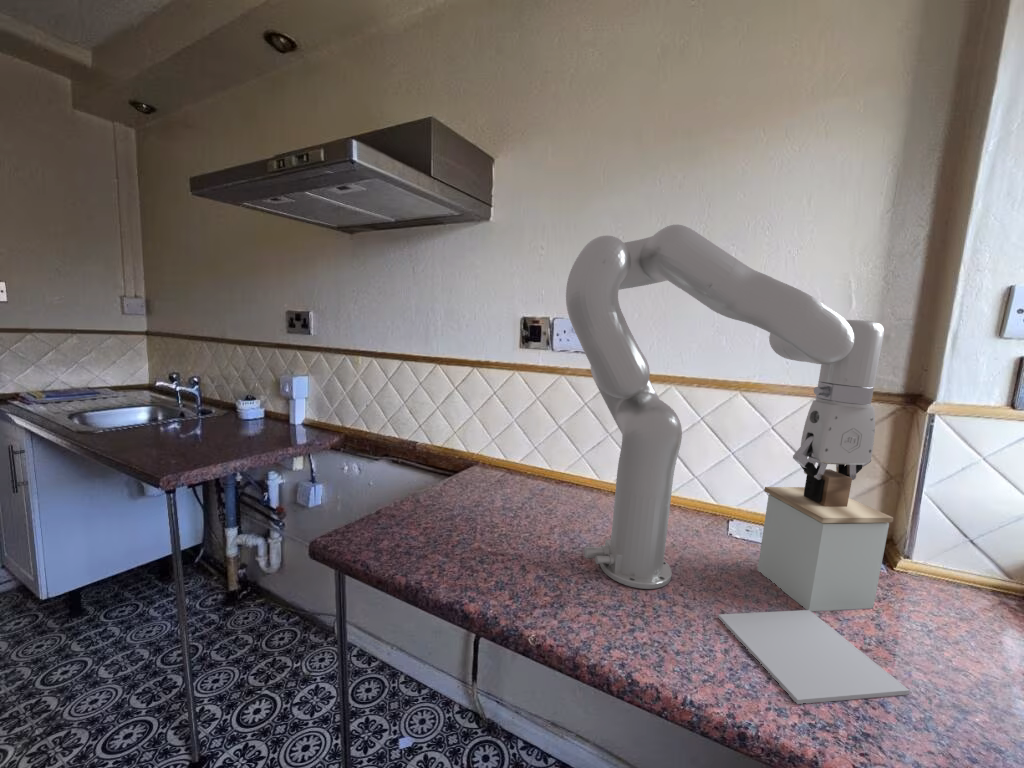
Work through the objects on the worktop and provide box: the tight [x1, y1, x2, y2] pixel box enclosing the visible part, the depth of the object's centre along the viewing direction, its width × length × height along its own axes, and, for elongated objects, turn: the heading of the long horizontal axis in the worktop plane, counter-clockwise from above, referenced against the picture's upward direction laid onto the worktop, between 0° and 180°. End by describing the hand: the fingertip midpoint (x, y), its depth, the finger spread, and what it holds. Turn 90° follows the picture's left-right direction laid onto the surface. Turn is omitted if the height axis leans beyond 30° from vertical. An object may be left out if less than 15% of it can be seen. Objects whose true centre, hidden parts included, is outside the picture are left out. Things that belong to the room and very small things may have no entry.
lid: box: [763, 468, 894, 523], centre depth 78 cm, size 13×13×7 cm
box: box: [757, 493, 890, 613], centre depth 80 cm, size 12×12×15 cm
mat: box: [717, 609, 910, 705], centre depth 64 cm, size 16×16×1 cm
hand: (825, 498), depth 78 cm, fingers closed on lid, 4 cm apart
